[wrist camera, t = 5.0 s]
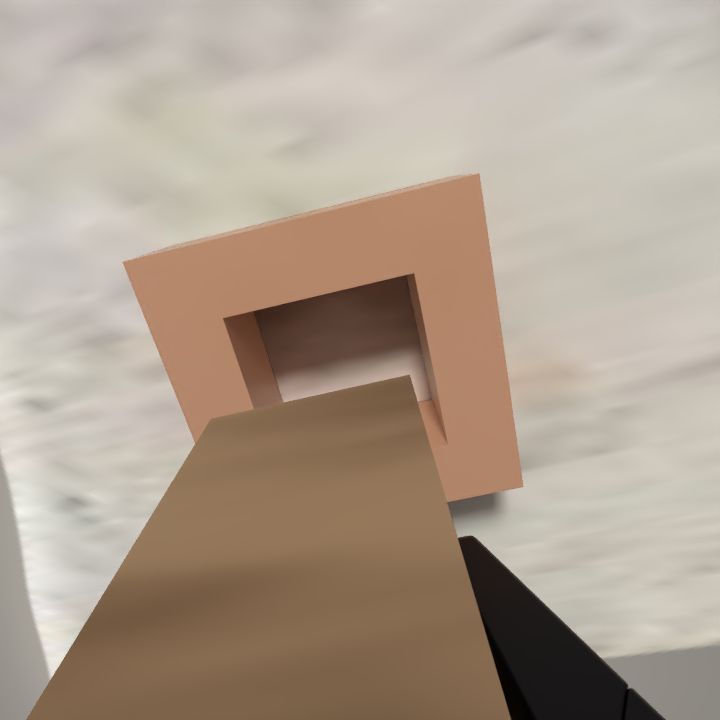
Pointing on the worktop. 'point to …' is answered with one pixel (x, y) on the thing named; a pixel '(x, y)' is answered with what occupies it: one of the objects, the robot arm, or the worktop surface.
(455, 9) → the worktop surface
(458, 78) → the worktop surface
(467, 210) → the frame
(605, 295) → the worktop surface
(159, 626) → the walnut peg
